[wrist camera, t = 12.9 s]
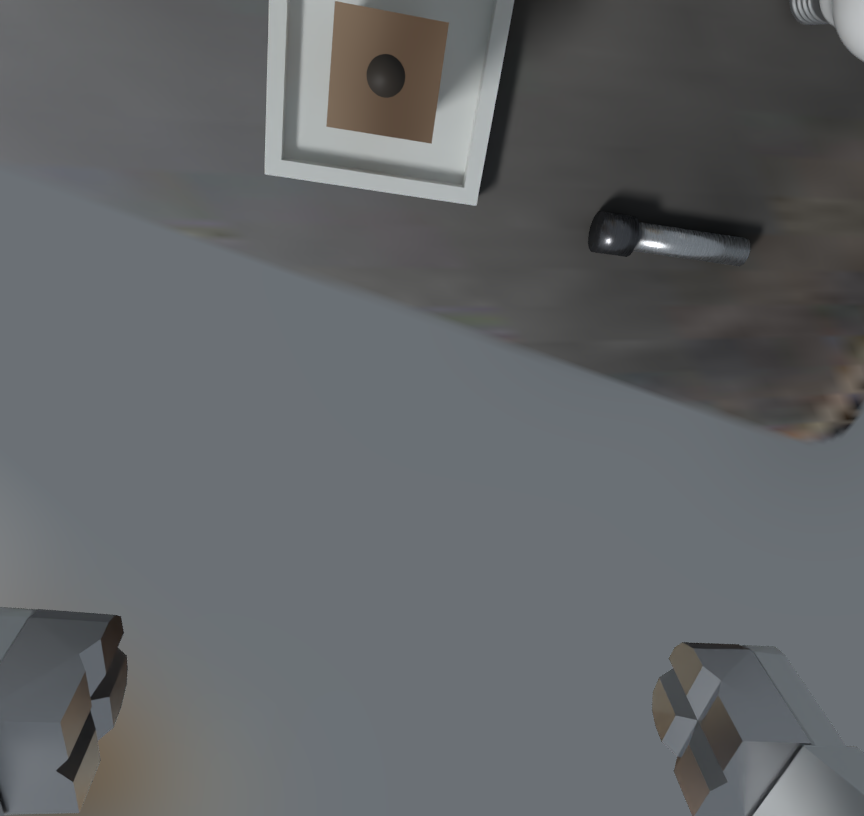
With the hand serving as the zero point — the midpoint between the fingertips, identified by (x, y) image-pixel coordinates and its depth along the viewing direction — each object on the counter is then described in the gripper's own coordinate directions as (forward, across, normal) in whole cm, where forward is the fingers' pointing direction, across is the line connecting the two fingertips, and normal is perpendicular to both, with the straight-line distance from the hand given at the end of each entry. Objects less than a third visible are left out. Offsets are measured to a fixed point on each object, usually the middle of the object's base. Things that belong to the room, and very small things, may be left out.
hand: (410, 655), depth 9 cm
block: (+28, +1, -7) cm, 29 cm away
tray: (+29, +1, -7) cm, 30 cm away
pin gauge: (+29, -16, -1) cm, 33 cm away
